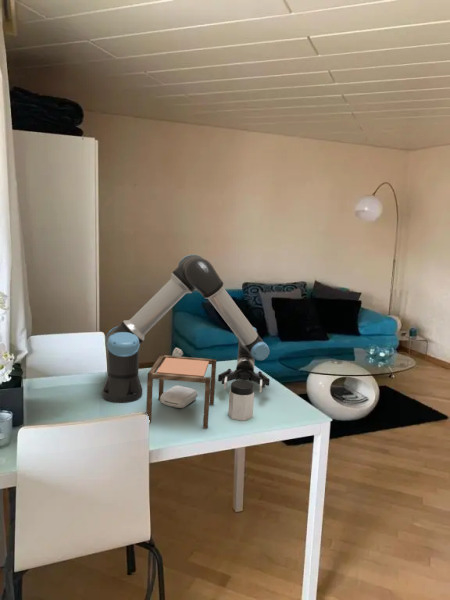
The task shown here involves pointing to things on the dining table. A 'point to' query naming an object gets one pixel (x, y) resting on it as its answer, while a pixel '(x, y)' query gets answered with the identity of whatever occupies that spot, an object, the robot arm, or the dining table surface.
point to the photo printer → (178, 396)
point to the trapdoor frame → (153, 375)
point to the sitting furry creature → (177, 352)
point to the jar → (241, 400)
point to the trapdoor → (183, 367)
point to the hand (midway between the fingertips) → (242, 387)
